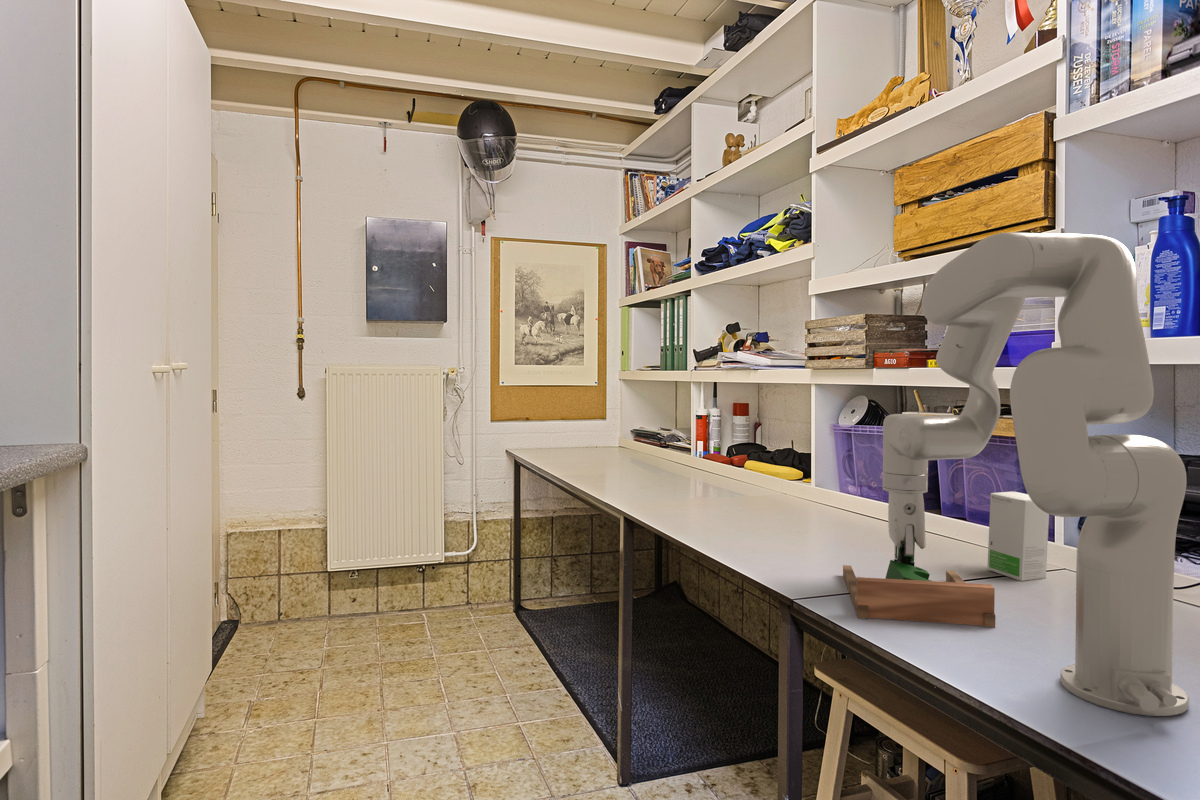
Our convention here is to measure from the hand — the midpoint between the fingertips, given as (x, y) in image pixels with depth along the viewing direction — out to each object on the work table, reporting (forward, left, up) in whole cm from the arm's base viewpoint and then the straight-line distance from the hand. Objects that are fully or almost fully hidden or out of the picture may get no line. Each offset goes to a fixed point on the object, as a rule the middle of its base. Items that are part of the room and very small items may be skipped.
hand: (903, 582), depth 129 cm
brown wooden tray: (-5, 0, -1) cm, 5 cm away
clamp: (-8, 0, -2) cm, 8 cm away
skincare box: (+15, -23, -2) cm, 27 cm away
